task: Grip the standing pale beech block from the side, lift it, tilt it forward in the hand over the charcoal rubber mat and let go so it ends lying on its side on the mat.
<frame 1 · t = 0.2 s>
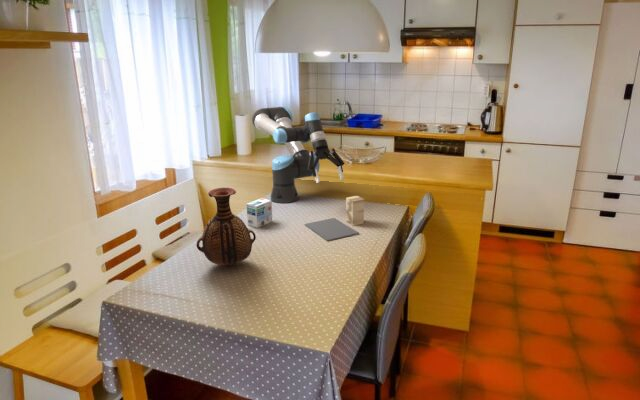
hand: (330, 180, 234), 15 cm above the table, tool tilted 35°, fingers open, 13 cm apart
beech block: (354, 222, 221), on the table
mat: (331, 229, 214), on the table
light bulb box: (260, 223, 223), on the table
vase: (228, 265, 180), on the table
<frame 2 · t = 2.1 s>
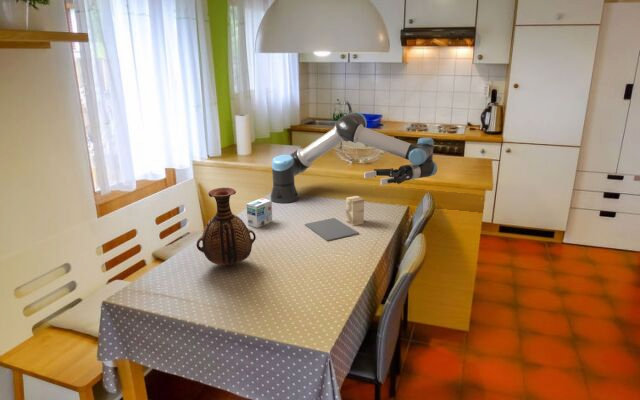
hand: (372, 178, 219), 20 cm above the table, tool horizontal, fingers open, 13 cm apart
nothing on the table moved.
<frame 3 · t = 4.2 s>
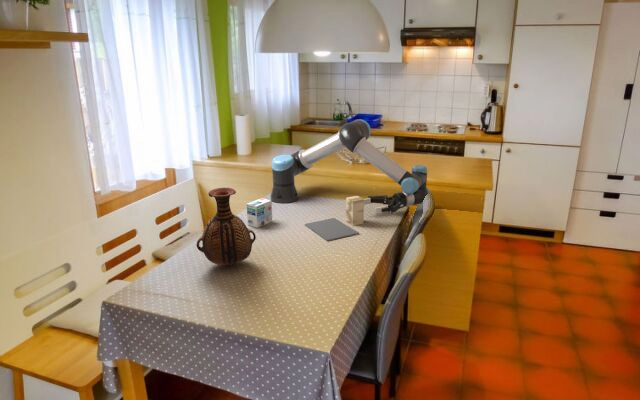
hand: (366, 207, 222), 7 cm above the table, tool horizontal, fingers open, 13 cm apart
nothing on the table moved.
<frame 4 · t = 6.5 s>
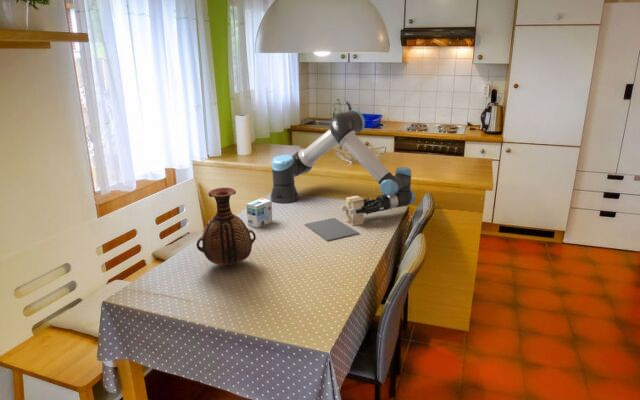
hand: (345, 210, 217), 7 cm above the table, tool horizontal, fingers closed on beech block, 6 cm apart
beech block: (354, 222, 221), on the table, touching gripper
everything else where it was.
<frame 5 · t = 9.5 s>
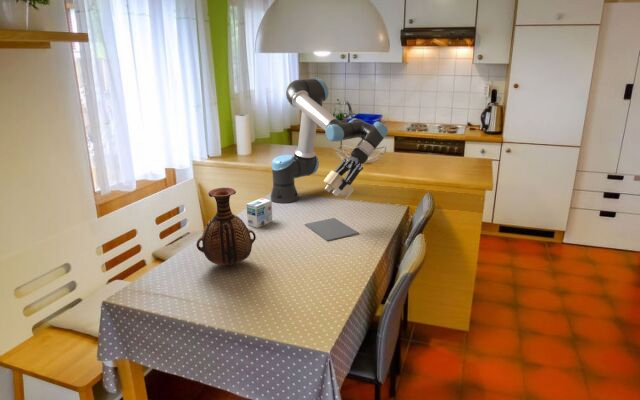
hand: (330, 192, 208), 18 cm above the table, tool tilted 45°, fingers closed on beech block, 6 cm apart
beech block: (347, 192, 212), point 16 cm above the table, tilted 45°, touching gripper
everything else where it was.
when the fingers open (6 cm above the table, at t = 13.3 s): beech block moves 2 cm and tips over, resting on mat.
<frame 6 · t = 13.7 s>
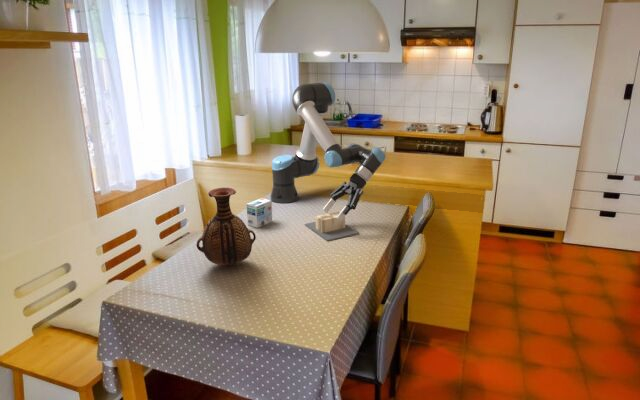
hand: (331, 215, 212), 7 cm above the table, tool tilted 45°, fingers open, 12 cm apart
beech block: (341, 219, 215), point 4 cm above the table, tilted 90°, touching mat
everything else where it was.
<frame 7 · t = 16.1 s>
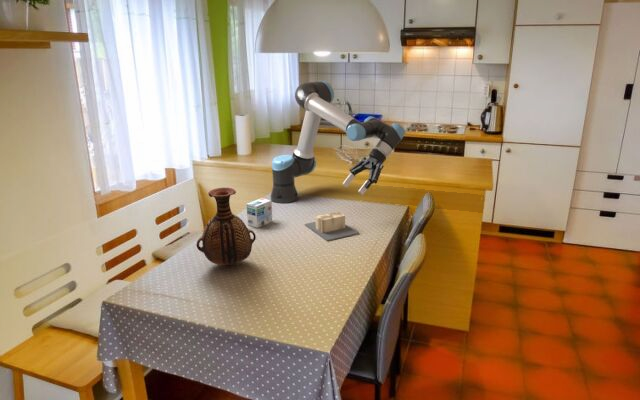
hand: (352, 189, 213), 17 cm above the table, tool tilted 45°, fingers open, 13 cm apart
nothing on the table moved.
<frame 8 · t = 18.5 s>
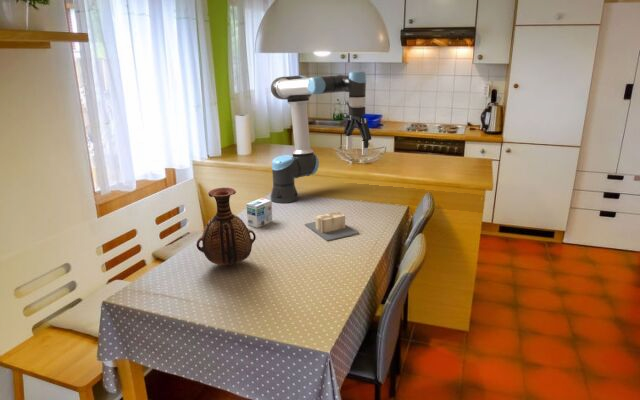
hand: (356, 151, 221), 32 cm above the table, tool pointing down, fingers open, 13 cm apart
nothing on the table moved.
at the end: beech block tilted 90°; beech block inside the target area (4.8 cm from its centre), point 3.6 cm above the table; beech block touching mat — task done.
